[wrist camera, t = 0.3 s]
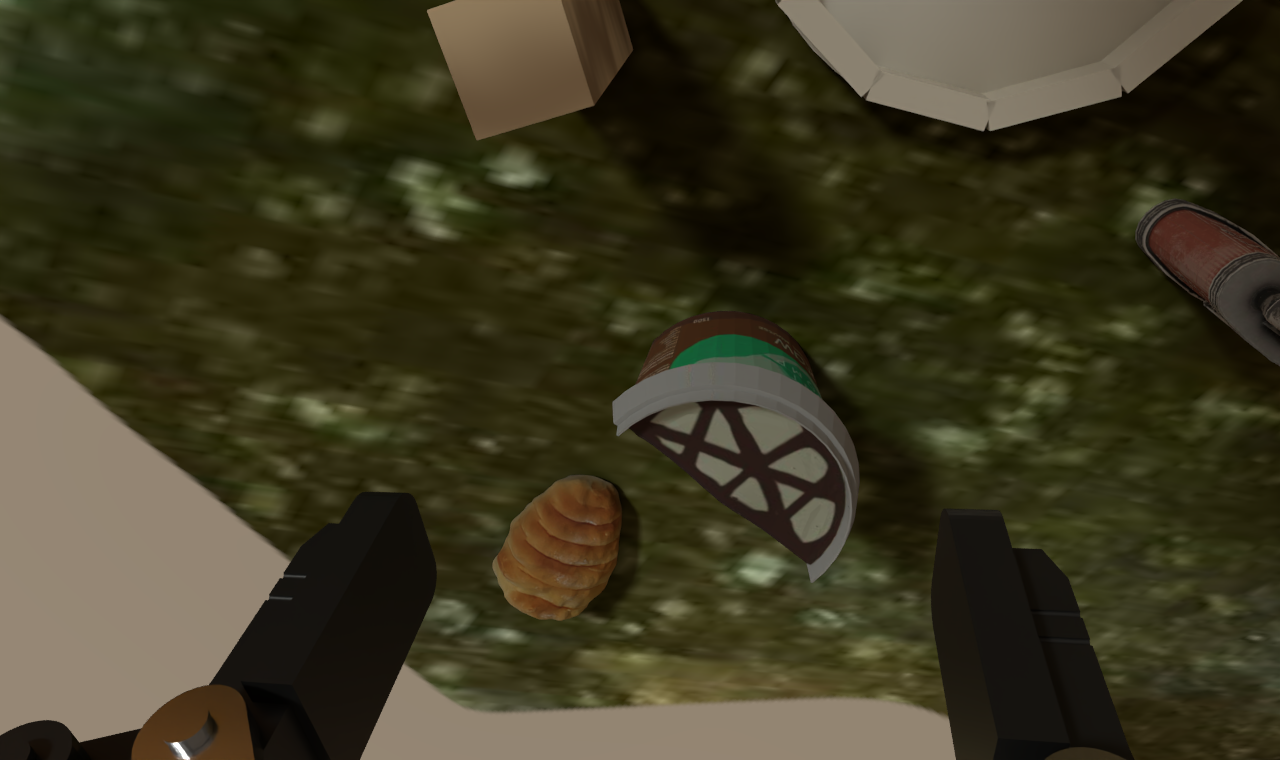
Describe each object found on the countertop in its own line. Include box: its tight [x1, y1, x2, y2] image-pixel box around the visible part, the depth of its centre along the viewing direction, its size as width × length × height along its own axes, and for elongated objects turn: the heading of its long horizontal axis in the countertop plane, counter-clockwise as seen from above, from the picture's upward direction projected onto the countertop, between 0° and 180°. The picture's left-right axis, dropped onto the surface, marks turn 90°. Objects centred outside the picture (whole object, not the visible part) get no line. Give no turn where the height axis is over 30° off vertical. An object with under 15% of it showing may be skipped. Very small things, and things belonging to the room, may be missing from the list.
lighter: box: [1136, 199, 1280, 366], centre depth 34 cm, size 8×3×10 cm, turn 59°
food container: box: [613, 311, 860, 583], centre depth 39 cm, size 12×6×10 cm, turn 50°
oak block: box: [427, 0, 633, 140], centre depth 31 cm, size 4×4×12 cm
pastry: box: [493, 475, 622, 621], centre depth 48 cm, size 9×7×4 cm
